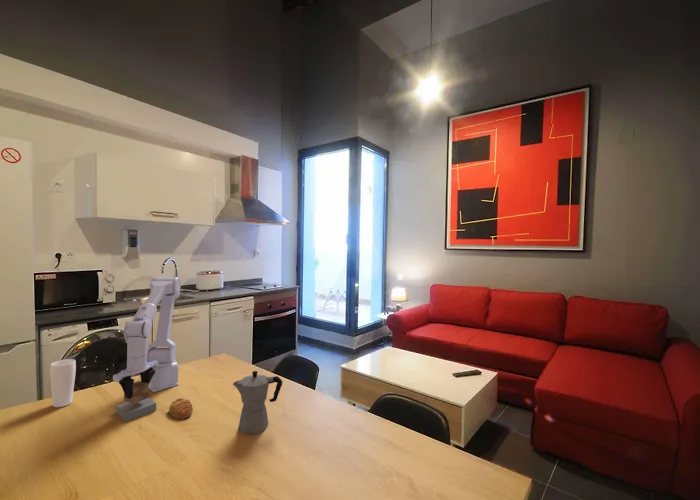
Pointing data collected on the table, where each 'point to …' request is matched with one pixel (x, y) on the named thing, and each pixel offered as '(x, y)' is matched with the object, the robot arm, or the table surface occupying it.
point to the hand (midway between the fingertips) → (136, 394)
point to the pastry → (181, 408)
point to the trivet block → (135, 409)
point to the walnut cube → (138, 392)
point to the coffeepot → (255, 401)
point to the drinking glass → (62, 382)
